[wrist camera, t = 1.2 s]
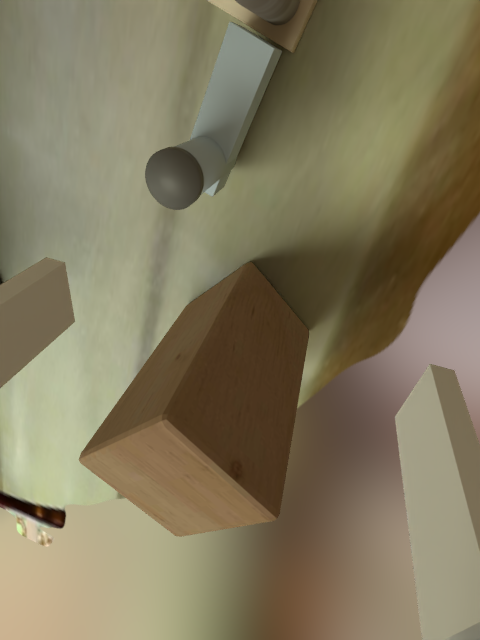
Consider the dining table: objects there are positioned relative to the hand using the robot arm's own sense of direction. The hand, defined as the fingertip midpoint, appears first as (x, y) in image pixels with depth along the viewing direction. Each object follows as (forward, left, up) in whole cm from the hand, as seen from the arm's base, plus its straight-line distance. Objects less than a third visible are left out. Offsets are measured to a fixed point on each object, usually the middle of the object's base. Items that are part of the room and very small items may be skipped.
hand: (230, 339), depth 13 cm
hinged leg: (-7, +3, -19) cm, 21 cm away
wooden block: (+2, -14, -21) cm, 26 cm away
